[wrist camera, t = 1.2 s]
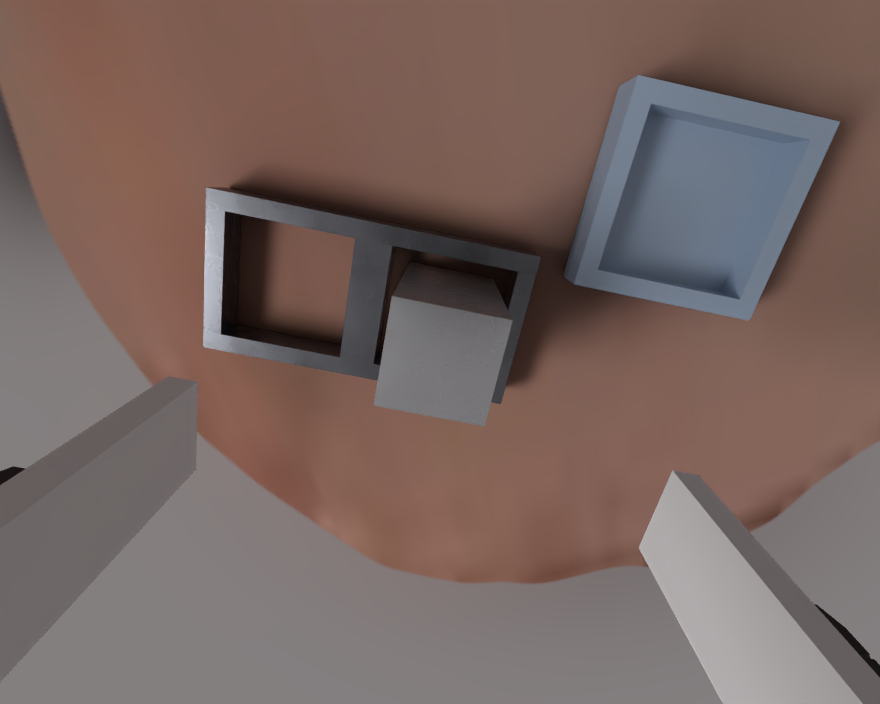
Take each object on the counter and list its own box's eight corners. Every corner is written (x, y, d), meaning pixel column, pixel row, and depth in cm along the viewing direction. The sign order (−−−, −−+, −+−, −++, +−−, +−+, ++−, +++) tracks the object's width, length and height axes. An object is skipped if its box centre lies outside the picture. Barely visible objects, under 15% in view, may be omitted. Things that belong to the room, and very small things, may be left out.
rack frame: (224, 187, 25) (206, 187, 23) (534, 252, 26) (541, 257, 24) (219, 336, 28) (203, 346, 26) (497, 390, 29) (500, 403, 27)
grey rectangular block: (410, 261, 26) (391, 296, 18) (492, 278, 27) (512, 320, 18) (396, 340, 28) (373, 405, 20) (474, 355, 28) (484, 426, 20)
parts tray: (618, 86, 23) (638, 75, 21) (801, 128, 24) (840, 121, 21) (562, 276, 26) (573, 284, 24) (723, 309, 27) (749, 320, 25)
